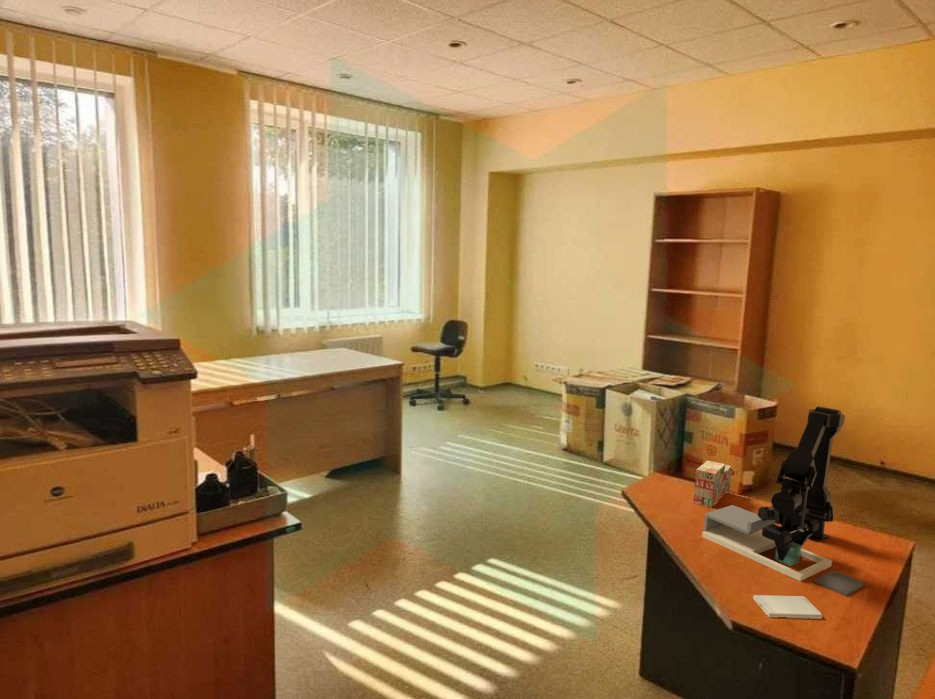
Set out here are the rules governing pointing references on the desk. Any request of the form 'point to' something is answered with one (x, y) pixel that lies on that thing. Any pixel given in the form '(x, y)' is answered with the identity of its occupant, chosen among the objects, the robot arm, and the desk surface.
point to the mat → (840, 582)
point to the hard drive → (787, 606)
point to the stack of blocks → (711, 482)
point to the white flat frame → (762, 550)
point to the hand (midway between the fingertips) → (787, 557)
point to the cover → (735, 520)
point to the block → (791, 555)
